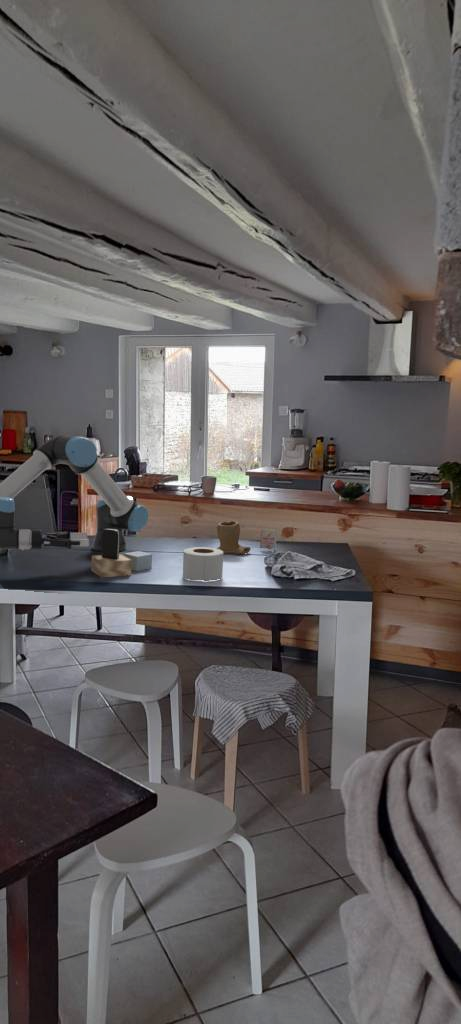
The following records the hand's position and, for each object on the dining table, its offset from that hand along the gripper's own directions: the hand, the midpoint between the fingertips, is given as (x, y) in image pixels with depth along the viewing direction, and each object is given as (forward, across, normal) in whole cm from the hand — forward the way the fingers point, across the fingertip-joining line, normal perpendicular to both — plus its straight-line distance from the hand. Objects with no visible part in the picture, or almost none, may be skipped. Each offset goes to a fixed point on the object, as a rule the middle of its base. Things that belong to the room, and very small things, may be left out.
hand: (88, 539), depth 282 cm
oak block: (+9, 0, -13) cm, 16 cm away
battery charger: (+9, 0, -8) cm, 12 cm away
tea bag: (+85, -41, -14) cm, 95 cm away
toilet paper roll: (+44, +10, -14) cm, 47 cm away
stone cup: (+66, -35, -14) cm, 76 cm away
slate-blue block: (+20, -8, -14) cm, 26 cm away
